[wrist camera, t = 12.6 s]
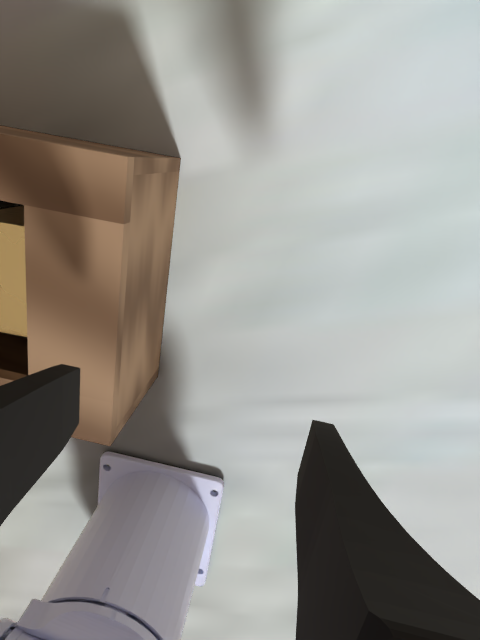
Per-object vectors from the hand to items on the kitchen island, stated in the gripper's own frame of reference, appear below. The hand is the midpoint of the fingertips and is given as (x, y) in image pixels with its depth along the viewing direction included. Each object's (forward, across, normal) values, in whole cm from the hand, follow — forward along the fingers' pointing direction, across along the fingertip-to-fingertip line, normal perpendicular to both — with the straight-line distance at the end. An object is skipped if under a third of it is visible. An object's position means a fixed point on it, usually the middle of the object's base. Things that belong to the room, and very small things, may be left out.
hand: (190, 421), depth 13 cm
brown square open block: (+10, +10, -1) cm, 14 cm away
